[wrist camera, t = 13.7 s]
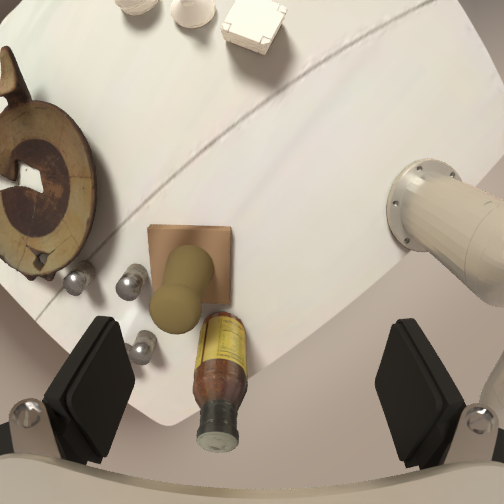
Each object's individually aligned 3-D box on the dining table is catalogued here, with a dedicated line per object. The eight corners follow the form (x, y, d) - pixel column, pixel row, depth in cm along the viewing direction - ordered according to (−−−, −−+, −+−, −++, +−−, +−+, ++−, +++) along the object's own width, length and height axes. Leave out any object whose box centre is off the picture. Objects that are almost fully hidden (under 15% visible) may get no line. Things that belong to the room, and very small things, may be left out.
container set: (283, 21, 29) (288, 6, 24) (264, 57, 31) (266, 46, 26) (132, -22, 25) (117, -38, 20) (113, 11, 27) (95, -1, 22)
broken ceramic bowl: (-13, 237, 38) (-41, 256, 31) (16, 50, 27) (-18, 45, 20) (95, 285, 42) (72, 314, 35) (148, 69, 31) (124, 58, 24)
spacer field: (146, 264, 40) (136, 280, 36) (159, 360, 47) (153, 380, 43) (76, 260, 40) (61, 274, 36) (98, 352, 47) (89, 370, 43)
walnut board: (230, 226, 38) (230, 230, 37) (229, 298, 42) (229, 304, 41) (150, 224, 38) (147, 228, 37) (156, 294, 42) (154, 299, 41)
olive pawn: (200, 296, 41) (187, 352, 30) (158, 274, 39) (133, 325, 29) (223, 259, 39) (215, 311, 28) (179, 235, 37) (155, 280, 27)
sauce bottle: (220, 350, 46) (210, 465, 28) (192, 322, 44) (166, 439, 26) (256, 329, 45) (260, 448, 26) (229, 300, 43) (218, 420, 24)
